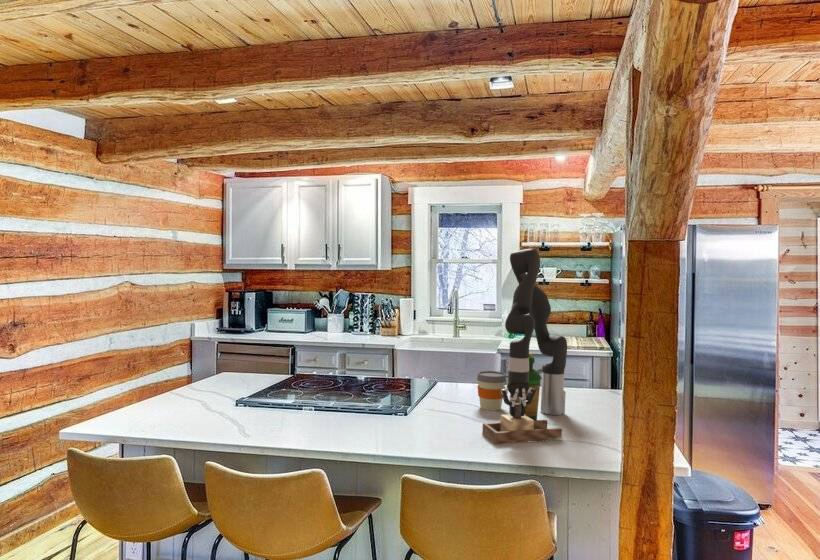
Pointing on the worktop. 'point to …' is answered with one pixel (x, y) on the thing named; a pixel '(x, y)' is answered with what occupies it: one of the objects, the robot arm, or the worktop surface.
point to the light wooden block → (516, 421)
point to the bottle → (535, 384)
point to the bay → (521, 433)
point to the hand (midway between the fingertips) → (517, 415)
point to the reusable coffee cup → (490, 389)
